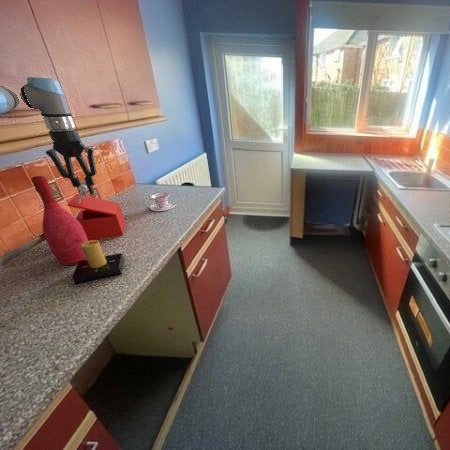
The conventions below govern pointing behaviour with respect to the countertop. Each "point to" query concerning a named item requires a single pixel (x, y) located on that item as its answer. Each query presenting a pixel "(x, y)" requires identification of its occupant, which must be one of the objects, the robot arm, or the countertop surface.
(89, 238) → the cabinet
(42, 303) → the countertop surface
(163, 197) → the teacup
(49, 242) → the wine bottle
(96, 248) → the yellow cylinder
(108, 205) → the cabinet door
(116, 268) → the panel
